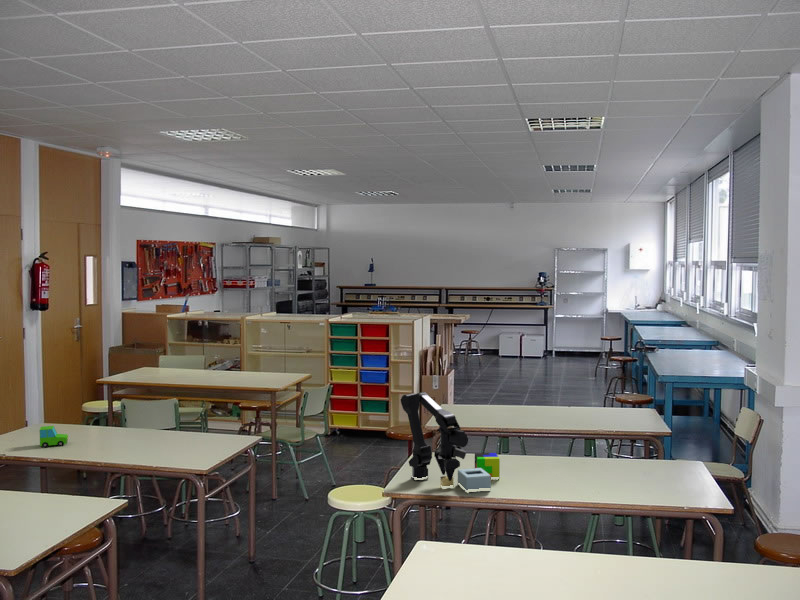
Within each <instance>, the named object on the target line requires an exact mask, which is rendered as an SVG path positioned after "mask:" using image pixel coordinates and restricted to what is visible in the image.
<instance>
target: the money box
mask: <svg viewBox="0 0 800 600" xmlns="http://www.w3.org/2000/svg"><path fill="white" fill-rule="evenodd" d="M491 482H492V480H491V475H489V474H488V473H487V472H486V471H484V470H483V469H482V468H475V467H473V468H462V469H461V468H460V469H458V468H457V484H458V483H460V484H461V485H462V486H463V487H464V488H465V489H466V490H468V489H479V488H491V489H492V486H491V484H492V483H491Z"/></svg>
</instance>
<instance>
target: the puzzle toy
mask: <svg viewBox="0 0 800 600" xmlns="http://www.w3.org/2000/svg"><path fill="white" fill-rule="evenodd" d="M500 462H501V460H500V457H499V455H498V454H497V453H496V452H475V453H474V468H482V469H483V470H484V471H486V472H487V473H488V474H489V475H491V477H499V478H500V472H501V471H500V466H501V464H500Z"/></svg>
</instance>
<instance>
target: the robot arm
mask: <svg viewBox="0 0 800 600" xmlns="http://www.w3.org/2000/svg"><path fill="white" fill-rule="evenodd" d="M400 404H401V407H402V409H403V411H404V412H405V413H406V414H407V417H408V422H409V426H410V431H411V436H412V440H413V449H412V457H411V458H410V460H408V465H409V467H411V468H412V470H411V473H412V475H411V476H413V477H417V478H422V477H426V476H428V477H429V468H428V466H429V465H431V462H432V459H433V455H434V457H435V460H436V462H437V465H438V467H439V469H440V472H441V474H442V476H445V475H446V476H447V477H448V480H449V481H451V480H452V477H453V476H454V473H455V471H456V469H458V468H460V467H461V462H460V460H458V459H457V458H460V459H462V460H465V457H466V455H467V451H466V450H464V449H462V448H465V447H467V446H468V443H469V437H468V435H467V433H466V431H465V430H461V426H460V424H459V423H458V420H457V417H456V416H455V414H454V413H452V412H451V411H449V410H446V409H444V408H442V407H441V406H440V405H439V404H438V403H437V402H436V401H435V400H433V399H432V398H431V396H429V395H428V393H427V392H425V391H421V392H418V393H415V392H414V393H408V394H403V395H402V396H401V398H400ZM421 405H422V406H423V407H424V408H425V410H427V411H428V412H429V413H430V414H431V415H432V416H433V417H434V418H435V422H436V424H437V425H438V426H439V427H438V429H436V431H437V432H440V443H439V444H438V447H439V449H436V450H435V451H434V453H433V452H432V447H431V445H428V444H427V443H426V442H425V437H424V433H423V427H422V423H421V420H420V419H421V418H420V414H419V410H420V406H421ZM453 478H454V477H453Z"/></svg>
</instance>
